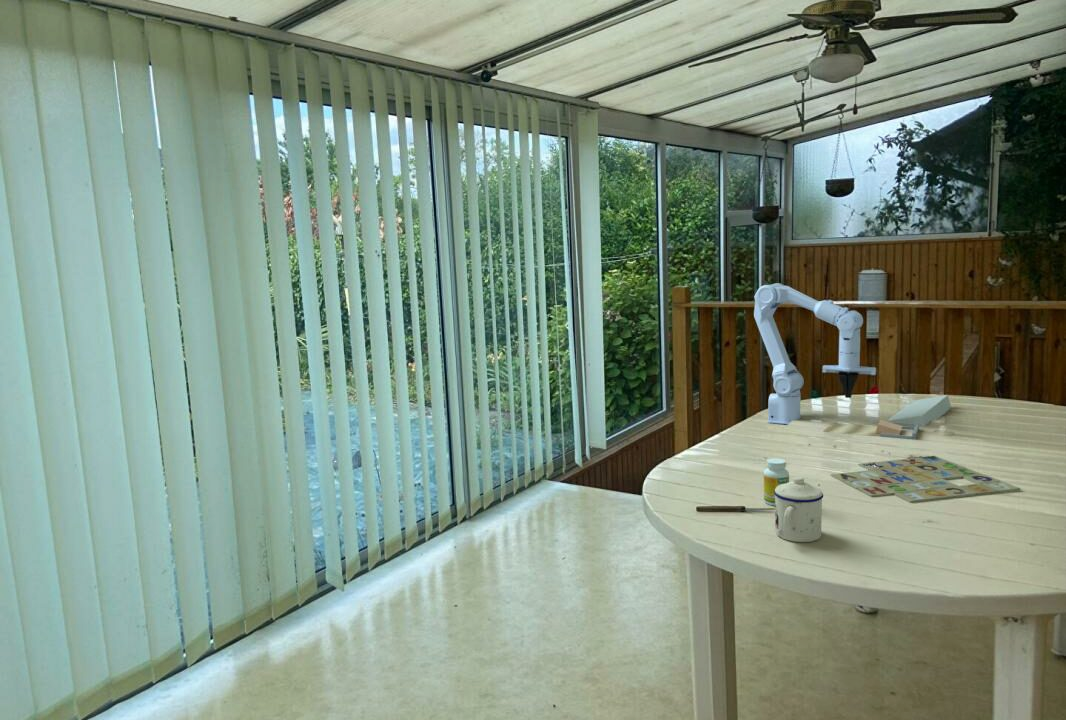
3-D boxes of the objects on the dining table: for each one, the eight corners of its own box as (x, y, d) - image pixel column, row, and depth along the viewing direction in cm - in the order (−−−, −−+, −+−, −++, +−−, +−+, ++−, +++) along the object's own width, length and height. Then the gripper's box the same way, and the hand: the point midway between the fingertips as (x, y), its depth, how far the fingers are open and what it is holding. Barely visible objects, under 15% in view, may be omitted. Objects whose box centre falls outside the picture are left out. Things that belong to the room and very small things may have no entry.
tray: (879, 441, 209) (879, 430, 209) (884, 431, 220) (884, 421, 219) (915, 444, 205) (915, 433, 204) (918, 434, 215) (919, 423, 214)
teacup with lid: (782, 522, 153) (782, 468, 152) (827, 531, 148) (829, 474, 146) (762, 542, 144) (762, 485, 142) (810, 552, 139) (811, 492, 137)
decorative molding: (890, 436, 225) (926, 431, 218) (886, 420, 225) (921, 415, 219) (919, 413, 251) (951, 409, 244) (915, 400, 251) (947, 394, 244)
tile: (875, 432, 212) (878, 424, 212) (878, 427, 218) (880, 419, 217) (897, 439, 210) (900, 430, 209) (900, 434, 215) (902, 426, 214)
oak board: (823, 436, 217) (823, 431, 217) (830, 427, 227) (830, 422, 227) (879, 441, 209) (879, 436, 209) (884, 431, 220) (884, 426, 219)
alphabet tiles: (934, 459, 193) (934, 454, 193) (1021, 493, 166) (1021, 487, 166) (816, 470, 188) (817, 466, 187) (887, 508, 161) (887, 502, 160)
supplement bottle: (773, 496, 169) (774, 455, 168) (794, 502, 165) (794, 460, 163) (758, 502, 166) (758, 460, 164) (778, 508, 162) (779, 465, 160)
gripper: (820, 353, 221) (820, 398, 223) (874, 355, 213) (872, 401, 215) (825, 349, 227) (824, 393, 229) (877, 351, 219) (876, 396, 221)
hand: (848, 397), depth 222 cm, fingers closed
